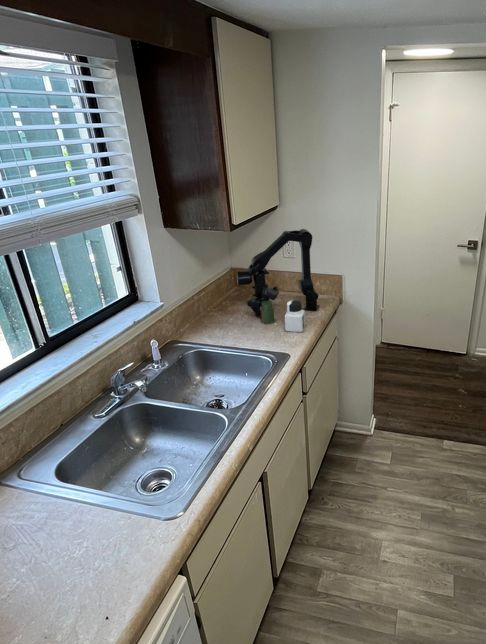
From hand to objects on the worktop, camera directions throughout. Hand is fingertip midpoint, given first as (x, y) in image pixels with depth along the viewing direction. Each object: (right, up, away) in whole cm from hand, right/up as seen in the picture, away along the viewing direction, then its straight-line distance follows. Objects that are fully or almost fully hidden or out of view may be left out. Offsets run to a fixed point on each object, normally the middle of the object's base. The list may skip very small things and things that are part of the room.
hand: (262, 313), depth 212 cm
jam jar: (+4, -4, -7) cm, 9 cm away
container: (+18, -7, -14) cm, 24 cm away
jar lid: (0, -1, 0) cm, 1 cm away
